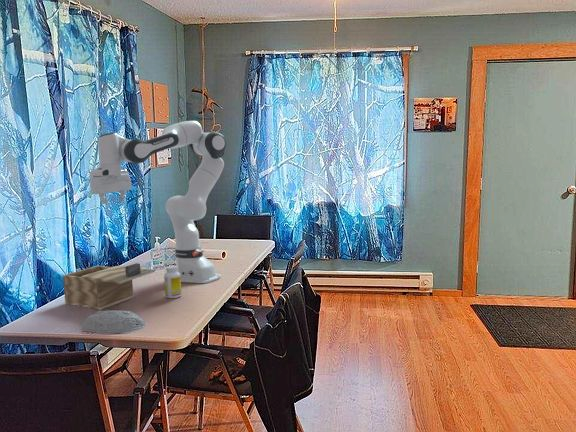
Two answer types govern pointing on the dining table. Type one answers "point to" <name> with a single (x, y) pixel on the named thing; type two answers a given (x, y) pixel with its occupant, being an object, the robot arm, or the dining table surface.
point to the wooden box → (94, 290)
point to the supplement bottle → (172, 282)
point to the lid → (119, 274)
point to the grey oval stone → (113, 322)
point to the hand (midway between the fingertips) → (113, 202)
